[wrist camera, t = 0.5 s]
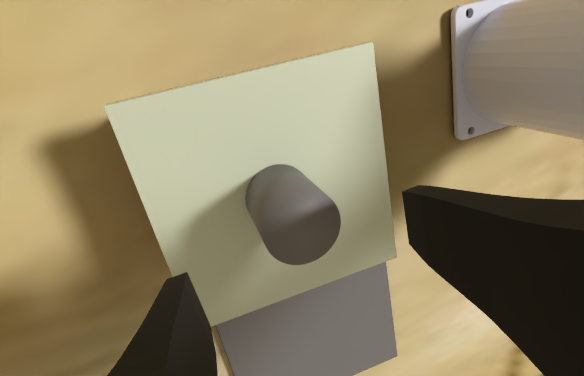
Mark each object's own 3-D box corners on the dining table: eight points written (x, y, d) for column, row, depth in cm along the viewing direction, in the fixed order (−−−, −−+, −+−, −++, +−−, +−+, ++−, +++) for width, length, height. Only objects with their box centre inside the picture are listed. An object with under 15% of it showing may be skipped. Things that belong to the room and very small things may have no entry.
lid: (363, 42, 16) (423, 37, 12) (388, 250, 21) (439, 295, 17) (107, 103, 14) (82, 120, 10) (193, 322, 18) (199, 393, 14)
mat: (377, 221, 25) (380, 223, 24) (394, 352, 29) (397, 356, 29) (201, 282, 22) (201, 286, 22) (249, 414, 27) (250, 419, 27)
